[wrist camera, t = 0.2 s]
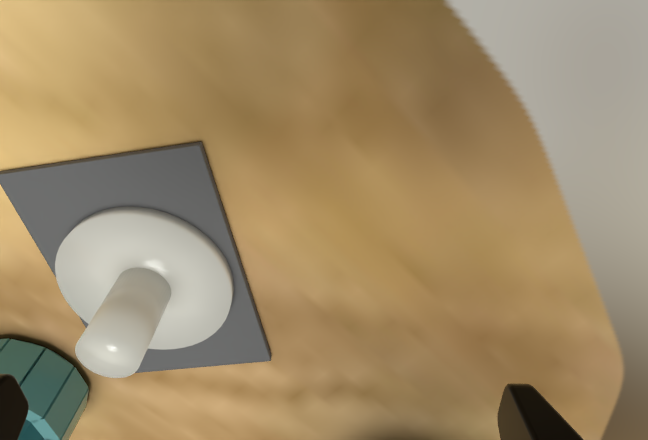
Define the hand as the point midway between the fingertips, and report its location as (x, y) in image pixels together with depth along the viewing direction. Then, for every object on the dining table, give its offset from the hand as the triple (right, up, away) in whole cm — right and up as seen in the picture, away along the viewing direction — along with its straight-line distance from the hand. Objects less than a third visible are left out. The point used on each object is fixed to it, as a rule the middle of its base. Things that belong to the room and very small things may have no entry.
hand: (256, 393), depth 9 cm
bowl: (-18, -7, +22) cm, 29 cm away
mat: (-8, 0, +17) cm, 19 cm away
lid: (-8, 0, +17) cm, 18 cm away
